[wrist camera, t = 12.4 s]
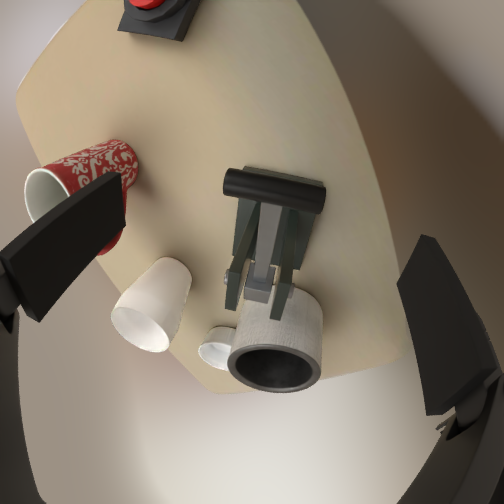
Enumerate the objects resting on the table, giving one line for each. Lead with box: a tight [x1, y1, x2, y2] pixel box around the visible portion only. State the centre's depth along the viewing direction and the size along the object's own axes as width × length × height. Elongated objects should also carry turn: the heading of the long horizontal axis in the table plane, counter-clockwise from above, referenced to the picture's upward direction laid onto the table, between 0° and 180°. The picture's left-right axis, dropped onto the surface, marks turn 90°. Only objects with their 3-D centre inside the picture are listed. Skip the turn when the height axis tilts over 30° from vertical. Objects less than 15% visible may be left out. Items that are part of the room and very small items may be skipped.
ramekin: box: [198, 327, 236, 371], centre depth 48 cm, size 9×9×4 cm
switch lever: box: [223, 168, 326, 304], centre depth 19 cm, size 14×5×2 cm, turn 172°
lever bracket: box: [224, 166, 323, 321], centre depth 28 cm, size 12×9×14 cm
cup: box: [111, 257, 192, 352], centre depth 38 cm, size 9×9×12 cm
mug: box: [24, 140, 138, 256], centre depth 29 cm, size 13×9×14 cm
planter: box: [227, 286, 323, 393], centre depth 38 cm, size 12×13×11 cm
